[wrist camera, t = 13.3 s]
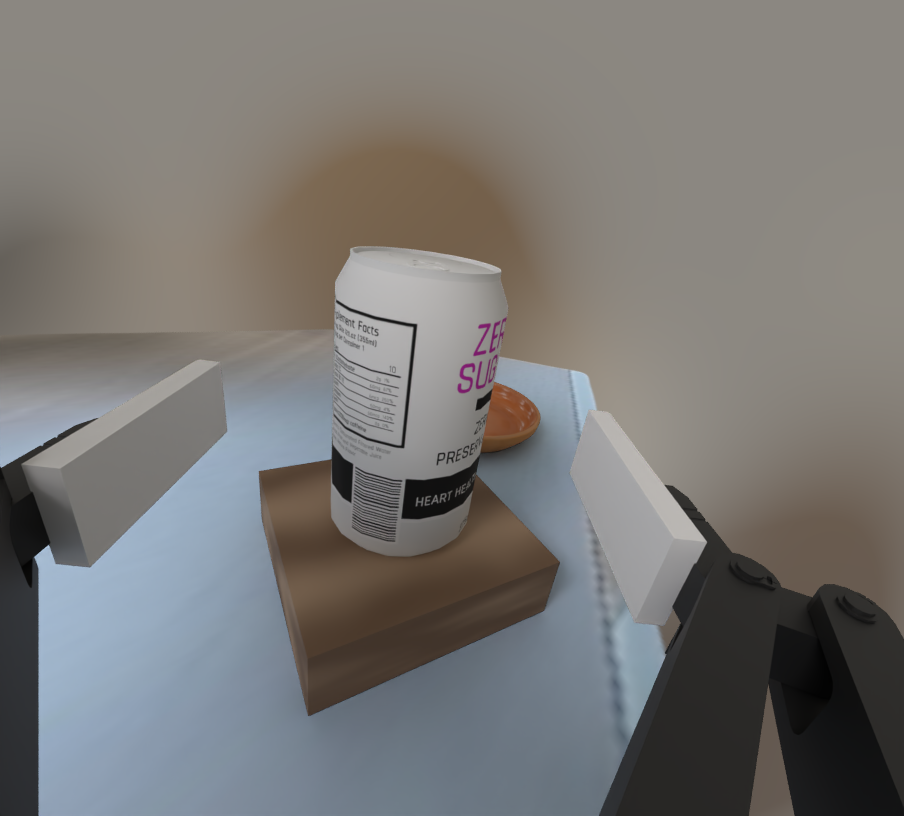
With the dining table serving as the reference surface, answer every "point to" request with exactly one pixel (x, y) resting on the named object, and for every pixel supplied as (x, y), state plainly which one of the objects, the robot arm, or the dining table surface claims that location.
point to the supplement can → (411, 394)
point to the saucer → (508, 419)
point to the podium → (391, 586)
